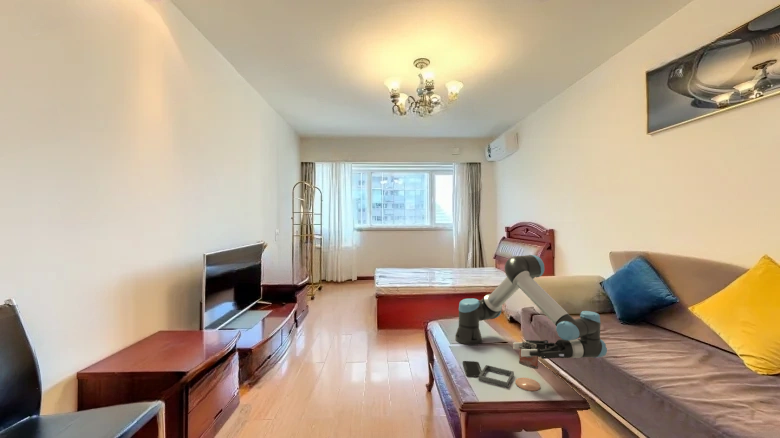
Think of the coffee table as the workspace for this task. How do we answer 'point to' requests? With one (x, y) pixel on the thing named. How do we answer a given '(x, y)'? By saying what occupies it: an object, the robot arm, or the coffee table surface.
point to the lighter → (528, 360)
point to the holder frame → (495, 381)
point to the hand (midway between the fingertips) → (517, 349)
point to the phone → (472, 368)
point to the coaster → (527, 384)
